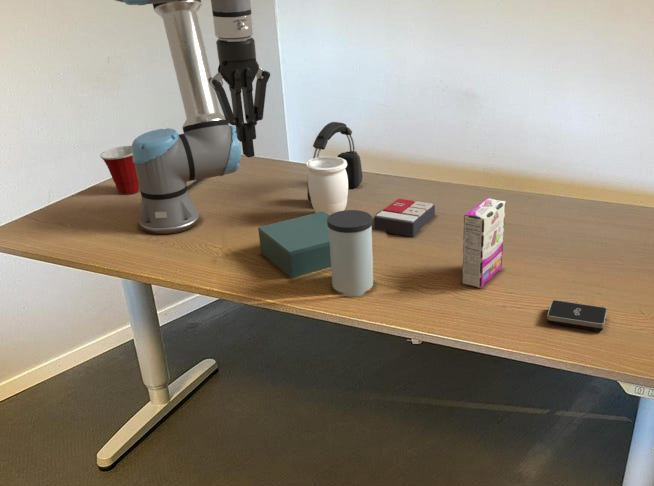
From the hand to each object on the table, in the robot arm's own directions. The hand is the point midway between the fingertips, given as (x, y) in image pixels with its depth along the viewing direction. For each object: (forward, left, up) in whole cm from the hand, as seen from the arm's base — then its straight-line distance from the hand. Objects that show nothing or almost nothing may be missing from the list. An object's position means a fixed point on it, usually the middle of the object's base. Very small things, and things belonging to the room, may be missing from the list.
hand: (248, 155), depth 156 cm
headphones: (-41, +21, -26) cm, 52 cm away
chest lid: (0, +11, -19) cm, 22 cm away
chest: (0, +11, -25) cm, 28 cm away
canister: (+16, +20, -25) cm, 36 cm away
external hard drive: (+38, +63, -26) cm, 78 cm away
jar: (-24, +18, -26) cm, 39 cm away
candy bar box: (+16, +49, -26) cm, 58 cm away
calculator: (-17, +37, -26) cm, 48 cm away
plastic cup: (-55, -39, -26) cm, 72 cm away
